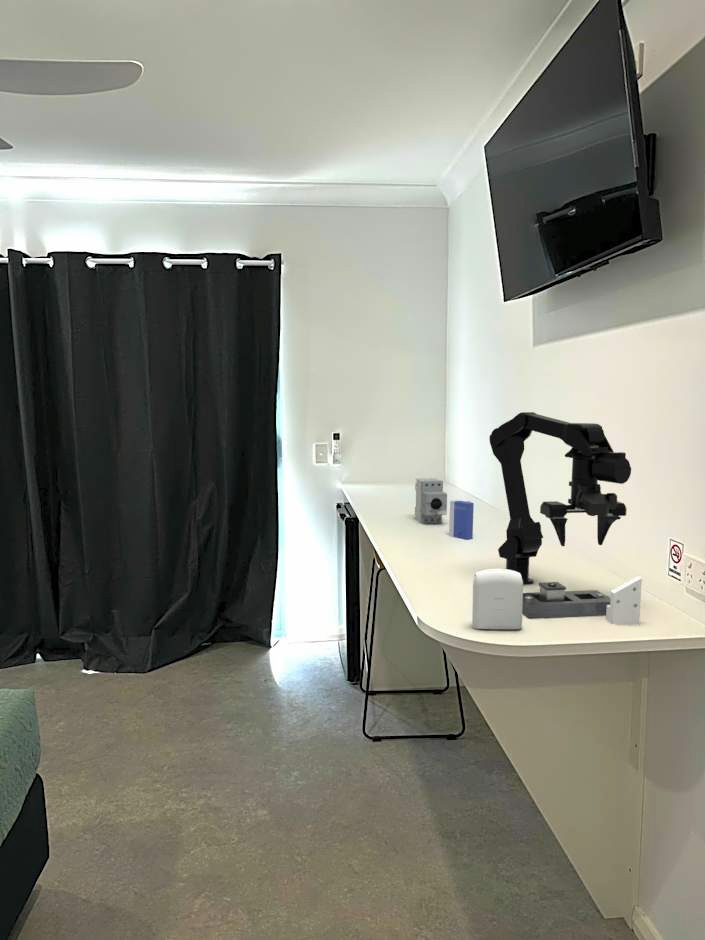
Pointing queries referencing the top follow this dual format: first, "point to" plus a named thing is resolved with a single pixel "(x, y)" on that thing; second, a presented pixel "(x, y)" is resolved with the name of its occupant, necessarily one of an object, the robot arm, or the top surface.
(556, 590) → the drawer with knob
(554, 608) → the metal cover plate
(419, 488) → the circuit breaker
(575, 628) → the top surface
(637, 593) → the white angled block
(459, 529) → the walkman
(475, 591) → the photo printer
